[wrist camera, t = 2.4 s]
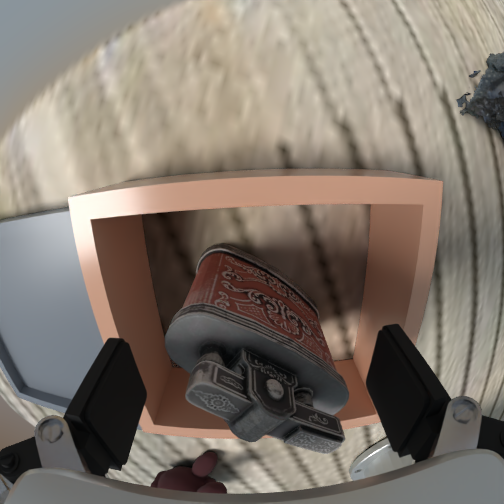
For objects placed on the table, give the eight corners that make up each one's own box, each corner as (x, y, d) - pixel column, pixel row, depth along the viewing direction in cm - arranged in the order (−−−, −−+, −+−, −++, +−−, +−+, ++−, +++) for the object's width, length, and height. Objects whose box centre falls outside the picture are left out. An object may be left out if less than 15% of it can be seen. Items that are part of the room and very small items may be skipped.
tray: (89, 203, 15) (71, 210, 13) (149, 413, 21) (144, 430, 19) (-34, 227, 15) (-49, 234, 13) (26, 386, 21) (18, 397, 19)
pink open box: (386, 170, 15) (443, 180, 9) (363, 367, 19) (386, 420, 14) (122, 182, 15) (67, 197, 10) (162, 376, 19) (143, 431, 14)
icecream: (188, 530, 21) (259, 501, 19) (133, 525, 18) (189, 500, 16) (179, 489, 28) (242, 447, 25) (129, 480, 24) (179, 436, 22)
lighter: (187, 276, 17) (128, 405, 7) (218, 230, 16) (174, 340, 6) (294, 340, 18) (320, 474, 9) (328, 303, 17) (385, 433, 8)
